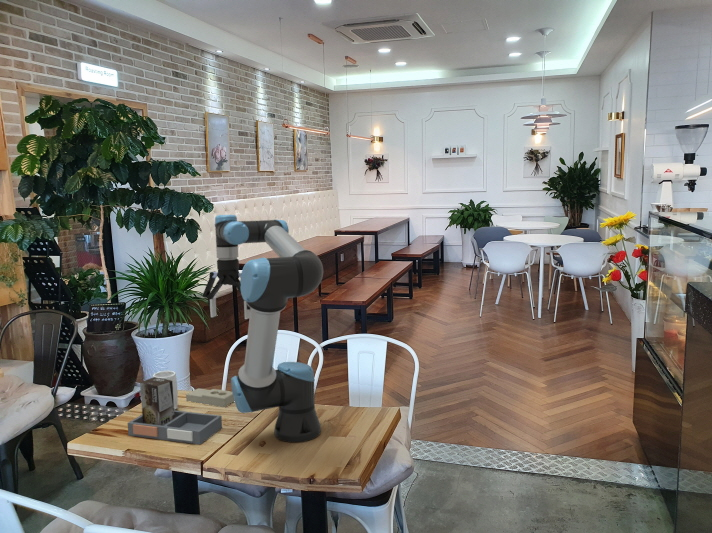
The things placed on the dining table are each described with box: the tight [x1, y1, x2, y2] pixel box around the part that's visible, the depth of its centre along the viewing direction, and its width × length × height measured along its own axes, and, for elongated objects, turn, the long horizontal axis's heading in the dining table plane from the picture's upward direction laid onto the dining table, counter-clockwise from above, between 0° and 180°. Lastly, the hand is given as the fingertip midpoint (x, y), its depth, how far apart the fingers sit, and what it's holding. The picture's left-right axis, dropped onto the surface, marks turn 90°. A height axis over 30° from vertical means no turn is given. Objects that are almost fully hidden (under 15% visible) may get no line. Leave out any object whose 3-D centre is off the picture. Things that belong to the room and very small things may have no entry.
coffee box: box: [139, 376, 175, 426], centre depth 189 cm, size 9×6×16 cm
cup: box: [152, 370, 179, 410], centre depth 205 cm, size 8×8×14 cm
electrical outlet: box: [185, 388, 235, 408], centre depth 216 cm, size 7×4×18 cm
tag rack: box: [127, 409, 223, 445], centre depth 188 cm, size 27×14×4 cm, turn 73°
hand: (230, 317), depth 201 cm, fingers open, 13 cm apart
